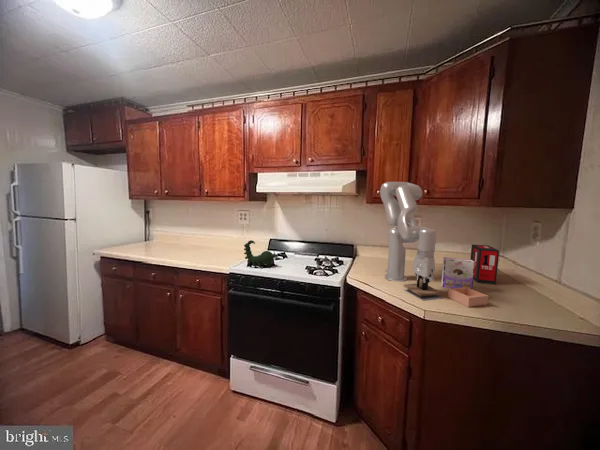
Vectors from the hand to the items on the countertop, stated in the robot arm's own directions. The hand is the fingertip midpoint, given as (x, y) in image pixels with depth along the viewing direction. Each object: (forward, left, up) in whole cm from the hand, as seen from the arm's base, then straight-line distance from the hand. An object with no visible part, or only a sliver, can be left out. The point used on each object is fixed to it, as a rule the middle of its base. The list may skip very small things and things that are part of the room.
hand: (421, 287), depth 123 cm
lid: (0, 0, -1) cm, 1 cm away
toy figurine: (-70, -76, -4) cm, 103 cm away
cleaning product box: (-12, +54, -4) cm, 56 cm away
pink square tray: (+13, +14, -3) cm, 19 cm away
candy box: (-3, +25, -4) cm, 25 cm away
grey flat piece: (+1, 0, -3) cm, 3 cm away
